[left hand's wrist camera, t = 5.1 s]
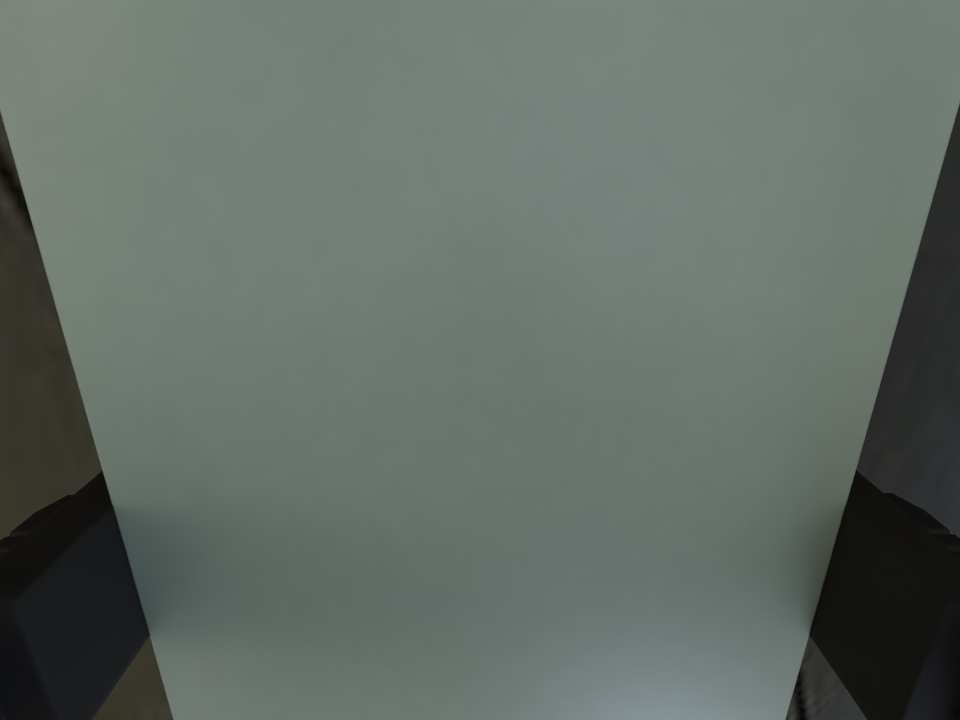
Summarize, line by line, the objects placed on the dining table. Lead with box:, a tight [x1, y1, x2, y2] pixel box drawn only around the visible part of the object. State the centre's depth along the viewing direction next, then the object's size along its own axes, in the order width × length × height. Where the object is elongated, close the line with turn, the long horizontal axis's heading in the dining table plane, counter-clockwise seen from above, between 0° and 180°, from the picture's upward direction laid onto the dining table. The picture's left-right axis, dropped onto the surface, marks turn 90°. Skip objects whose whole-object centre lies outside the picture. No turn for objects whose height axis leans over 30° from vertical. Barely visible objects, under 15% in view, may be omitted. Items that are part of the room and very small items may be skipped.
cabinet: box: [0, 0, 960, 720], centre depth 12 cm, size 18×11×11 cm, turn 0°
